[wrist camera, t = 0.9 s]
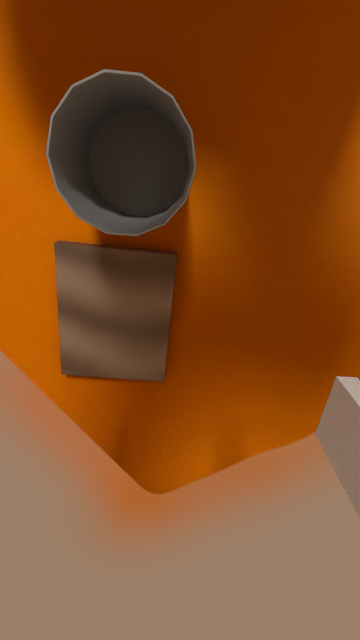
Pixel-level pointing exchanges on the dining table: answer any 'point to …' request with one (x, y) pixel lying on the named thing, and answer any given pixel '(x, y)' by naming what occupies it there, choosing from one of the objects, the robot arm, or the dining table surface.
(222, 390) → the dining table surface
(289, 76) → the dining table surface
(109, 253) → the walnut board
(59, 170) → the cup
